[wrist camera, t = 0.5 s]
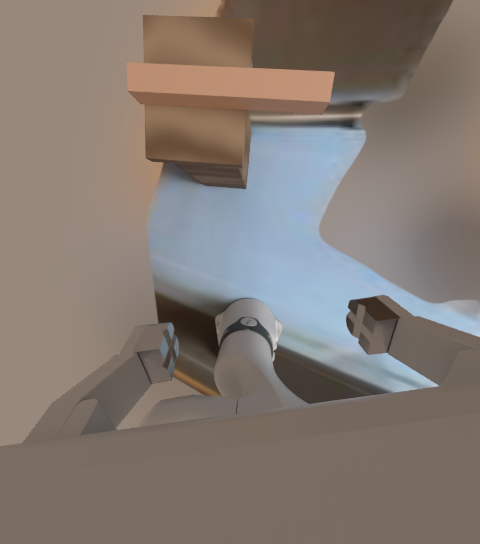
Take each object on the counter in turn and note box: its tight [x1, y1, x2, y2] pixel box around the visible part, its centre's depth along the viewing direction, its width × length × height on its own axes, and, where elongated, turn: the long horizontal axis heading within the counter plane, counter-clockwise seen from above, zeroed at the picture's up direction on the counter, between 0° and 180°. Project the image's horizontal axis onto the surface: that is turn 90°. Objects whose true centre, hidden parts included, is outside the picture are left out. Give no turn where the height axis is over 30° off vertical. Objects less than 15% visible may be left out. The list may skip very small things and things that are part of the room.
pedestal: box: [143, 15, 254, 189], centre depth 36 cm, size 14×12×26 cm
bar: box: [127, 62, 335, 115], centre depth 22 cm, size 2×21×2 cm, turn 85°
